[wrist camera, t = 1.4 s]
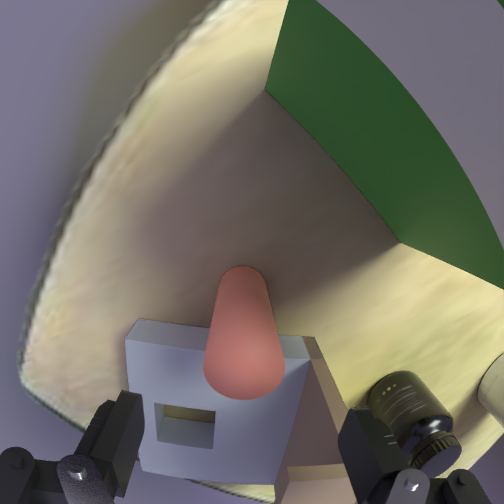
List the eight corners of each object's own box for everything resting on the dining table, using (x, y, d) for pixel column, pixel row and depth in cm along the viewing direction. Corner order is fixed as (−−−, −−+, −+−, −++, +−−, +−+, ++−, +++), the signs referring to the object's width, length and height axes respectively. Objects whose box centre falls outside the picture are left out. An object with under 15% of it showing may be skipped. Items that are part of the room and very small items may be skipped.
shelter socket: (314, 337, 27) (374, 473, 12) (281, 460, 31) (297, 570, 15) (138, 318, 26) (57, 442, 11) (148, 447, 30) (119, 554, 15)
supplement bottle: (425, 388, 30) (476, 452, 18) (380, 423, 30) (417, 495, 19) (405, 356, 28) (464, 426, 17) (354, 396, 29) (394, 477, 17)
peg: (269, 268, 26) (291, 337, 14) (263, 312, 27) (278, 402, 15) (220, 263, 25) (205, 329, 14) (216, 308, 26) (201, 395, 15)
